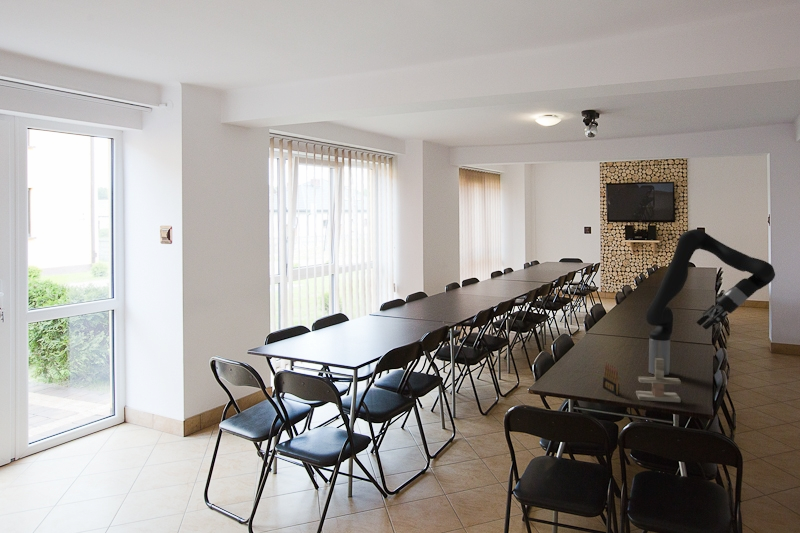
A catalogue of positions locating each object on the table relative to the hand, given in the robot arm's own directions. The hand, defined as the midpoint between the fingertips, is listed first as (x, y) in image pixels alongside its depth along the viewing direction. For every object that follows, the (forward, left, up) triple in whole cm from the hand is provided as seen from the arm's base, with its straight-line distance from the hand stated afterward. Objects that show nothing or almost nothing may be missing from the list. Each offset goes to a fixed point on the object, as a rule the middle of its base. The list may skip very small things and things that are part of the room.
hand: (700, 325), depth 233 cm
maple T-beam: (+6, -17, -24) cm, 30 cm away
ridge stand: (+6, -18, -31) cm, 36 cm away
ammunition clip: (0, -36, -31) cm, 47 cm away
